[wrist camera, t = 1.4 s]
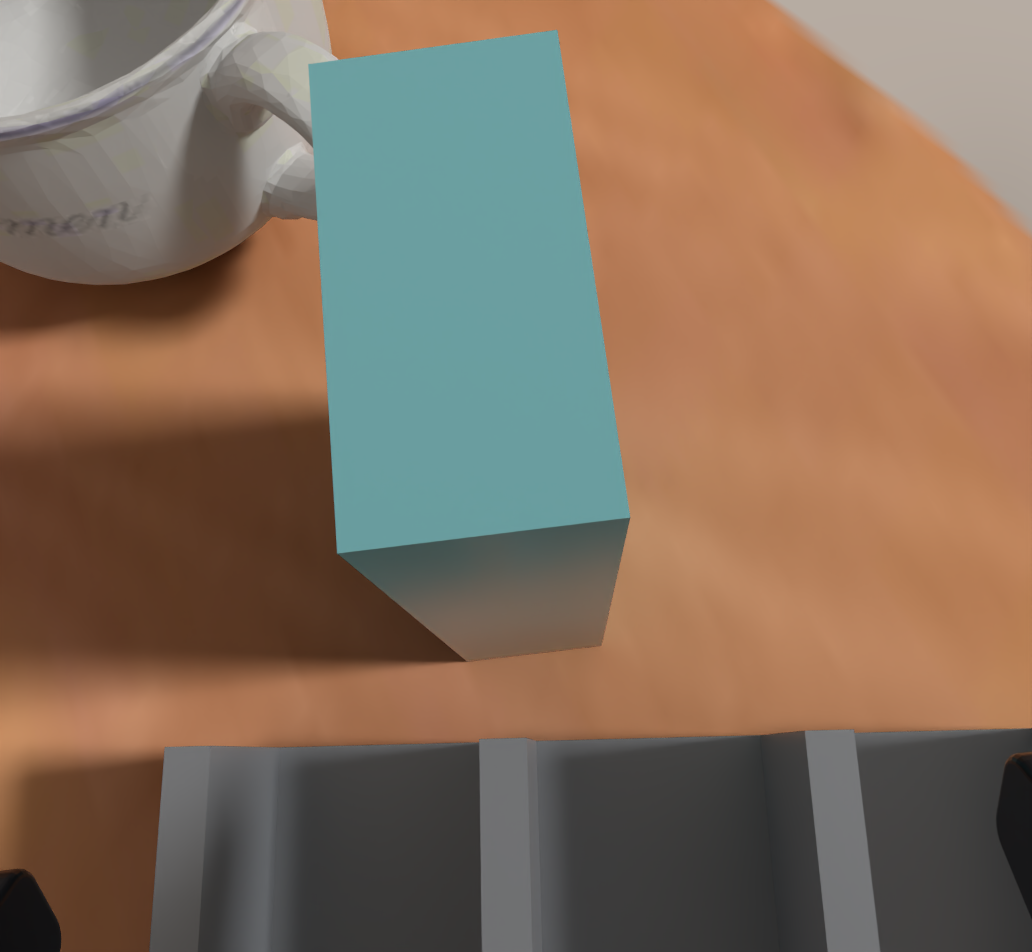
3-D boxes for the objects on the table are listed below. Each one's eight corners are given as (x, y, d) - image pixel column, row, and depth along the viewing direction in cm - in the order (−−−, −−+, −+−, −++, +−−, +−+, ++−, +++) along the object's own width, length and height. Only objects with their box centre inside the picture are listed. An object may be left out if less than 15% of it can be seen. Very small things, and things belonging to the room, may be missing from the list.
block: (601, 645, 21) (630, 517, 10) (466, 661, 21) (337, 552, 10) (567, 393, 23) (556, 29, 11) (442, 409, 23) (307, 64, 11)
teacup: (-106, 159, 26) (-390, -91, 18) (198, -81, 28) (53, -402, 20) (219, 506, 23) (37, 378, 15) (541, 208, 24) (525, -42, 17)
